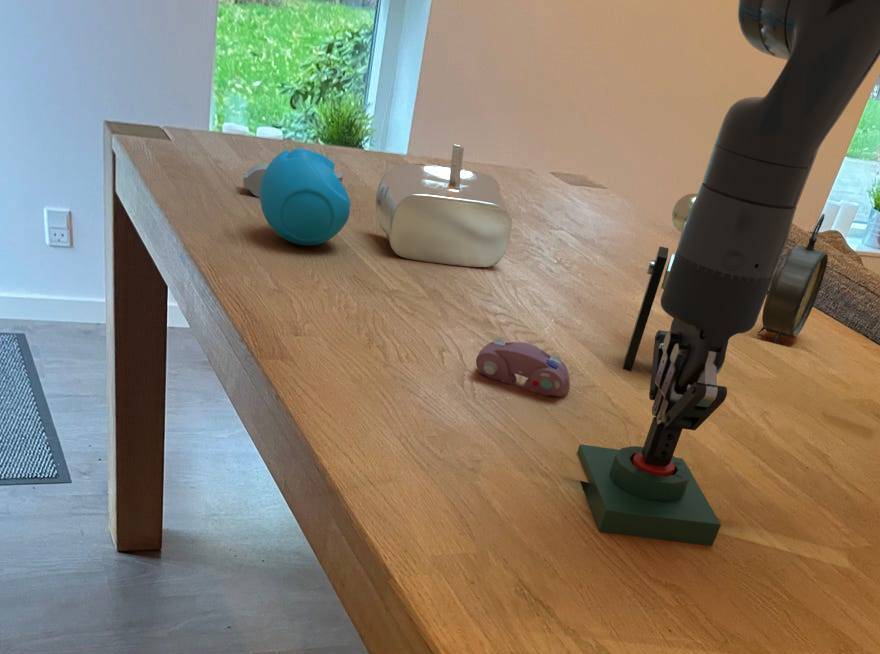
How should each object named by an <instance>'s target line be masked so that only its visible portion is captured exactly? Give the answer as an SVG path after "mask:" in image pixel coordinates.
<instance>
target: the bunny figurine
mask: <svg viewBox="0 0 880 654" xmlns="http://www.w3.org/2000/svg"><path fill="white" fill-rule="evenodd" d="M268 166H269V163H267V162H258V163H255V164H254V165H252V167H250V168H249V169H248V170H243V176H242V181H243V189H245V190H246V189H247V190H249V191H250V193H251V194H252V195H254V196H256V197H257V198H258V199H259V198H260V188H261V181H262V178H263V175H264V173H265V171H266V169H267V167H268ZM334 173H335V175H336V176H337V178H338V179H339V180H340V182H341V183H342V185H343V187H344V188H345V189H346V183H344V182H343V181H344V180H343V179H344V174H343V173H340V172H337V171H336V172H335V171H334Z"/></svg>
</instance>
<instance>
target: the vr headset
mask: <svg viewBox="0 0 880 654" xmlns="http://www.w3.org/2000/svg"><path fill="white" fill-rule="evenodd" d="M464 151H465V147H464V146H462V145H459V144H455V143H453V144H452V151H451V159H450V167H447V166H440V165H436V164H435V165H434V164H427V163H405V164H399V165H396V166H393V167H391V168H390V169H389V170H387V171H386V173H385V174H384V175H383V176H382V178H381V180H380V182H379V185H378V187H377V191H376V196H375V215H376V220H377V222H378V225H379V227H380V229H381V230H382V231H383V233H384V234H385V235H386V237H387V240H388V242H389V245H390V247H391V250H392V251H393V252H394V253H395V254H396V255H397V256H399V257H401V258H404V259H407V260H412V261H419V262H426V263H427V262H428V263H434V264H442V265H450V266H460V267H469V268H471V267H472V268H488V267H493V266H495V265H497V264H498V263H500V261H502V259H503V258H504V256H505V255H506V252H507V249H508V246H509V243H510V238H511V234H512V233H511V232H512V227H513V219H512V215H511V213H510V210H509V209H508V206H507V204H506V202H505V200H504V197H503V194H502V189H501V186H500V184H499V182H498V181H497V180H496V178H494V177H492V176H491V175H488V174H486V173H484V172H480V171H475V170H469V169H463V168H462V167H463V159H464Z"/></svg>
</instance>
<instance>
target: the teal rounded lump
mask: <svg viewBox="0 0 880 654" xmlns="http://www.w3.org/2000/svg"><path fill="white" fill-rule="evenodd" d="M268 165H269V166H268V167H267V169H266V171H265V173H264V175H263V178H262V181H261V188H260V206H261V210H262V214H263V215H264V218H265V220H266V222H267V224H268V225H269V227H270V228H271V229H272V230H273V231H274V232H275V233H276V234H277V235H278V236H279V237H281V238H282V239H284V240H286V241H287V242H289V243H291V244H294V245H298V246H305V247H306V246H307V247H311V246H316V245H321V244H323V243H326V242H328V241H330V240H331V239H333V238H334V237H335V236H337V235H338V234H339V233H340V232H341V230H342V229H343V228H344V226H346V224H347V222H348V220H349V217H350V210H351V209H350V208H351V200H350V197H349V194H348V192H347V190H346V187H345V188H344V187H343V185H342V183H343V182H340V180H339V179H338V178H337V176H336V175H335V166H336V164H335V163H334V161H333V160H331V159H330V158H328V157H327V156H325V155H323V154H321V153H319V152H316V151H314V150H310V149H306V148H301V147H296V148H294V149H292V150H291V151H290V150H288V149H284V150H282V151H281V152H280V153H278V154H277V155H276V156H275V157H274V158H273V159H271V161H270V163H268Z"/></svg>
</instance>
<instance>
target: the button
mask: <svg viewBox="0 0 880 654" xmlns="http://www.w3.org/2000/svg"><path fill="white" fill-rule="evenodd" d="M632 464H633V465H634V466H636V467H637V468H639V469H640V470H642V471H645V472H648V473H650V474H653V475H658V476H671V475H672V474H673V472H674V469H675V466H674V464H673V462H672V461H671V462H670V464H669V465H668V466H665V467H663V466H656V465H648V464H647V463H646V461H645V459H644V457H643V456H642V452H639V453H637V454H635V455H634V458H633V461H632Z"/></svg>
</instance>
